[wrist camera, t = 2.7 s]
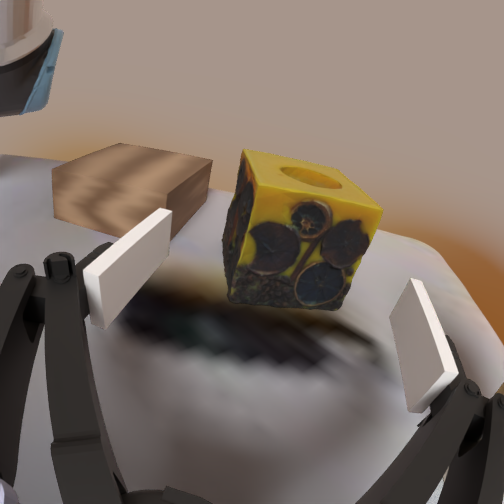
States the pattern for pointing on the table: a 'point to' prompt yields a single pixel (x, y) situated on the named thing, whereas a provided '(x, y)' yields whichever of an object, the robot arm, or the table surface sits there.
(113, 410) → the table surface
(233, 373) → the table surface
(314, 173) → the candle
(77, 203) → the wooden box
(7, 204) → the table surface
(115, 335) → the table surface
